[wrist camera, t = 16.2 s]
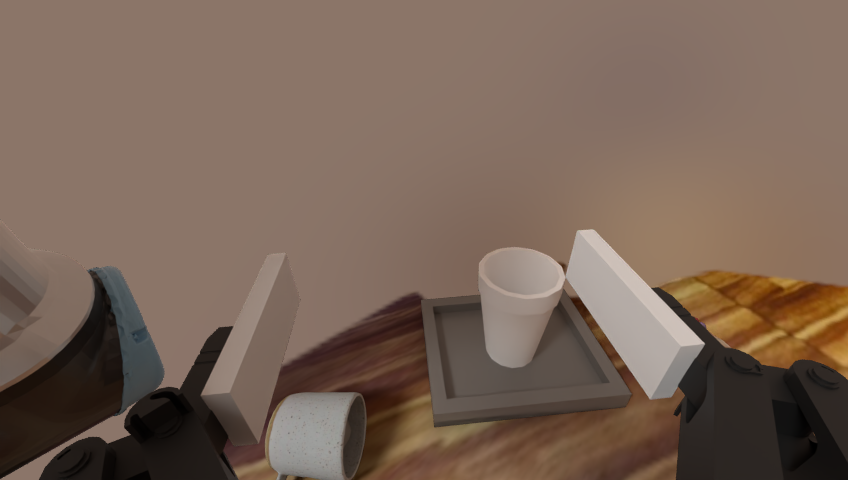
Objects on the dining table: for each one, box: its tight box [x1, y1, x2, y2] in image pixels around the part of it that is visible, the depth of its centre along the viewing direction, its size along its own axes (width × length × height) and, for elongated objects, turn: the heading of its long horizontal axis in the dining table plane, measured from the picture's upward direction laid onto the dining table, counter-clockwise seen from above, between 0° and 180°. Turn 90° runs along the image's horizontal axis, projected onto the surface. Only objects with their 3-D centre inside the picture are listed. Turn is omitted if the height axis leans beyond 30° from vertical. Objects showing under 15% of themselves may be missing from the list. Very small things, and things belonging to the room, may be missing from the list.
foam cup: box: [478, 247, 565, 368], centre depth 42 cm, size 10×9×13 cm
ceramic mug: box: [265, 392, 367, 480], centre depth 33 cm, size 11×8×8 cm
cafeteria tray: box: [421, 289, 632, 427], centre depth 46 cm, size 22×18×2 cm
